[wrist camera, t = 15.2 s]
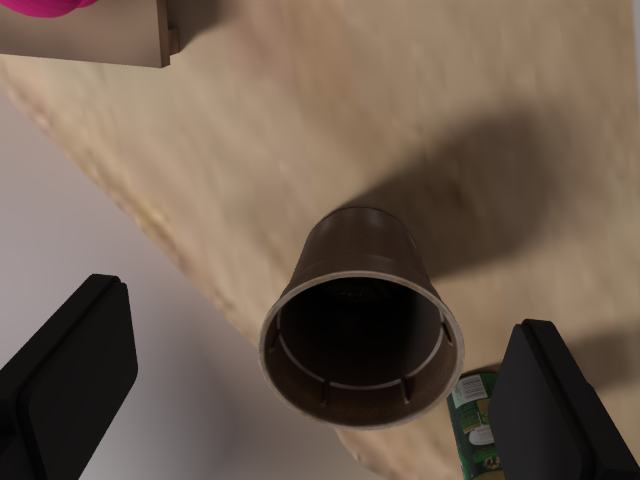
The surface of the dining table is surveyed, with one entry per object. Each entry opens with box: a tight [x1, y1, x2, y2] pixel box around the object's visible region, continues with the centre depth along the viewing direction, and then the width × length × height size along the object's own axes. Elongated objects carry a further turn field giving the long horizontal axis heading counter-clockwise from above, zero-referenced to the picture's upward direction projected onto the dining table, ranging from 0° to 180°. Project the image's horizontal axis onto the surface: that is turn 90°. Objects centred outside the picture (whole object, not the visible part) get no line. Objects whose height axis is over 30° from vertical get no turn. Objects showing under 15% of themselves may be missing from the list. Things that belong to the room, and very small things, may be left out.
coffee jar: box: [446, 373, 505, 480], centre depth 52 cm, size 10×8×19 cm
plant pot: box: [258, 208, 465, 431], centre depth 45 cm, size 16×16×16 cm
